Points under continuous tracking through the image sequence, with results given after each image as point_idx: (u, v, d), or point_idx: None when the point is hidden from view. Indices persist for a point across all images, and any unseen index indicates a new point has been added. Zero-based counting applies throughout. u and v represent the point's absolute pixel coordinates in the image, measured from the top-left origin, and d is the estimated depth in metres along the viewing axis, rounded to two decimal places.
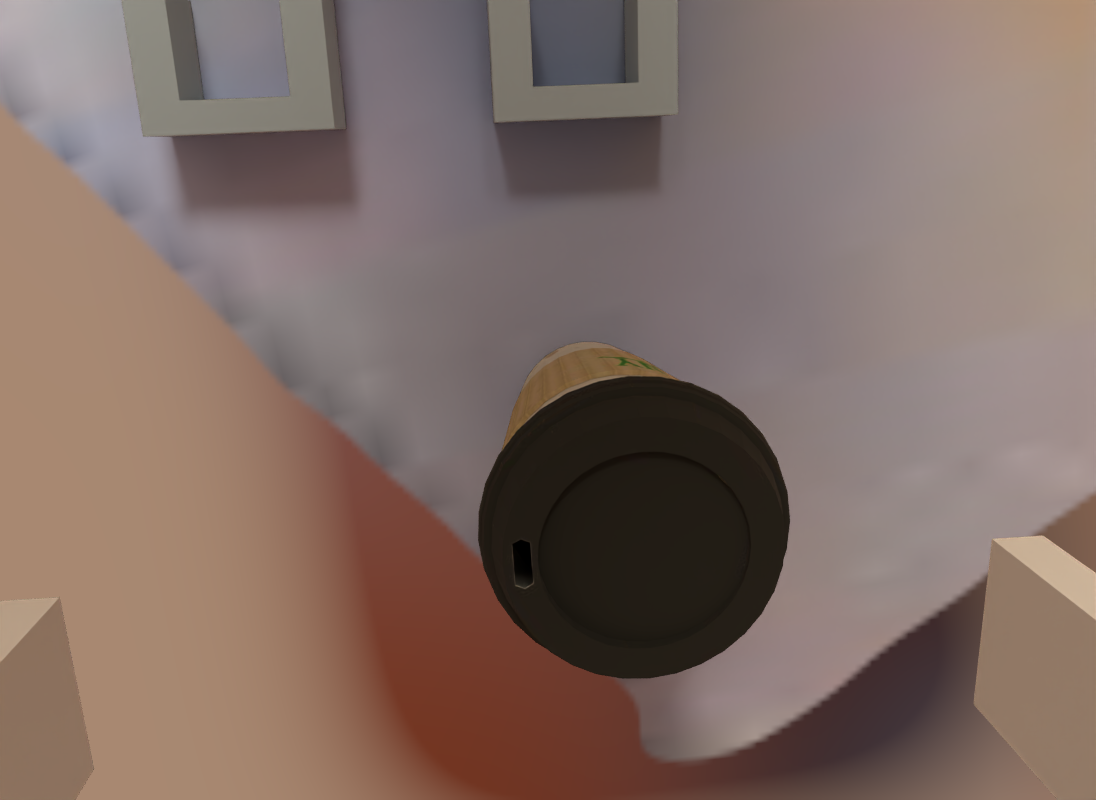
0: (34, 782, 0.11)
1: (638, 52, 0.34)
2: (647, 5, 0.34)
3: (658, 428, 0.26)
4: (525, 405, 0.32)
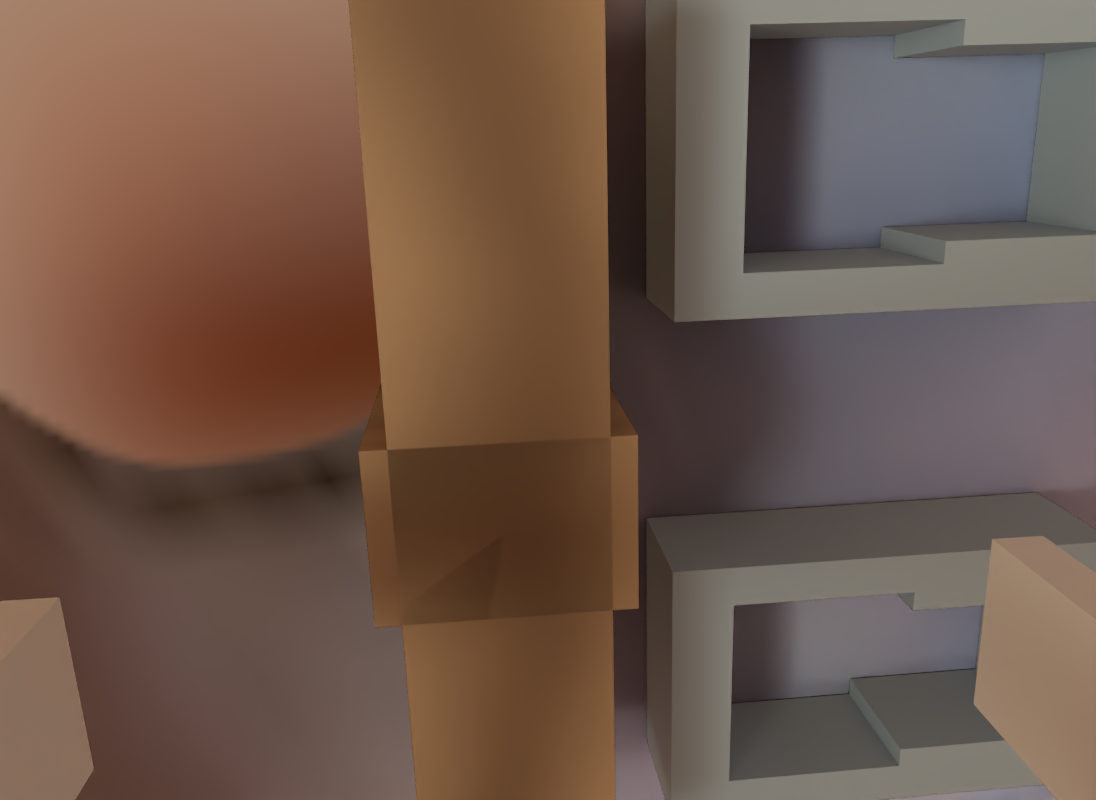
0: (34, 782, 0.11)
1: (1086, 41, 0.19)
2: (1017, 25, 0.19)
3: None
4: None
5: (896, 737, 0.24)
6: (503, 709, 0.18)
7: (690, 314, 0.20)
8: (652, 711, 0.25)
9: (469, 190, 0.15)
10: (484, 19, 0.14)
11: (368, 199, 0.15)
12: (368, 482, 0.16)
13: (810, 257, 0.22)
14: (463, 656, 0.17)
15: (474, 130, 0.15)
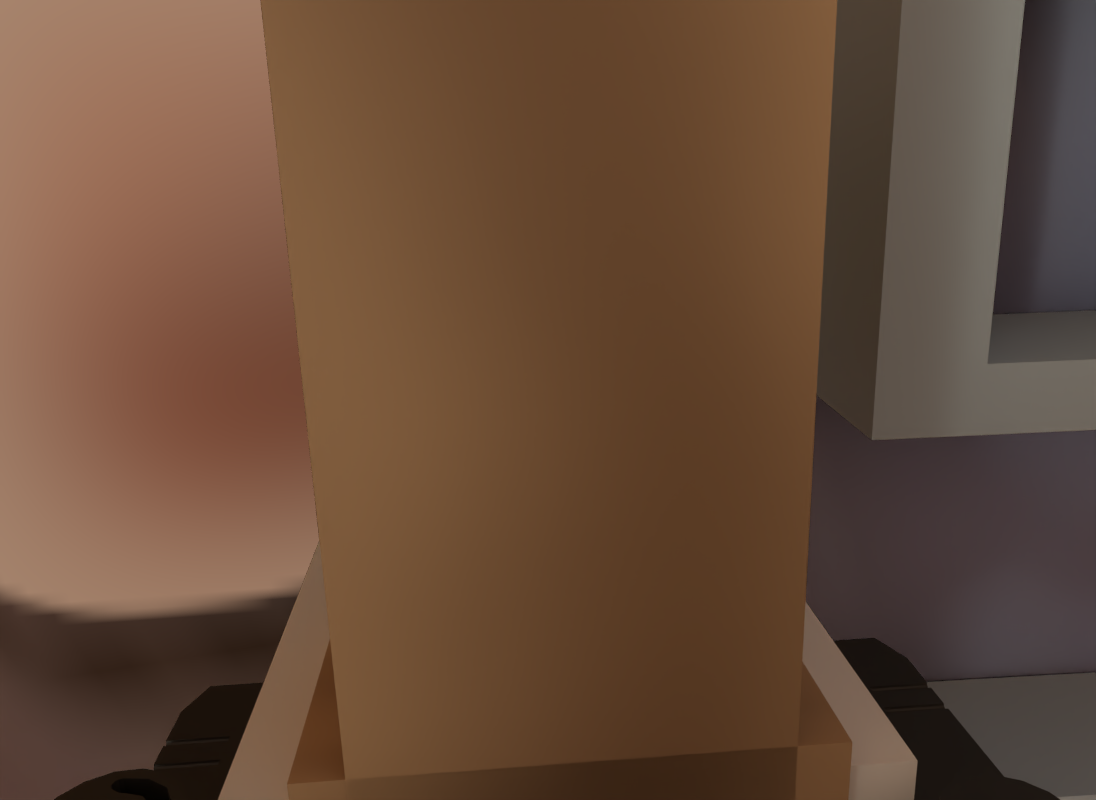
0: None
1: None
2: None
3: None
4: None
5: None
6: None
7: (898, 428, 0.12)
8: None
9: (522, 259, 0.07)
10: None
11: (297, 279, 0.07)
12: None
13: (1063, 328, 0.14)
14: None
15: (535, 126, 0.07)
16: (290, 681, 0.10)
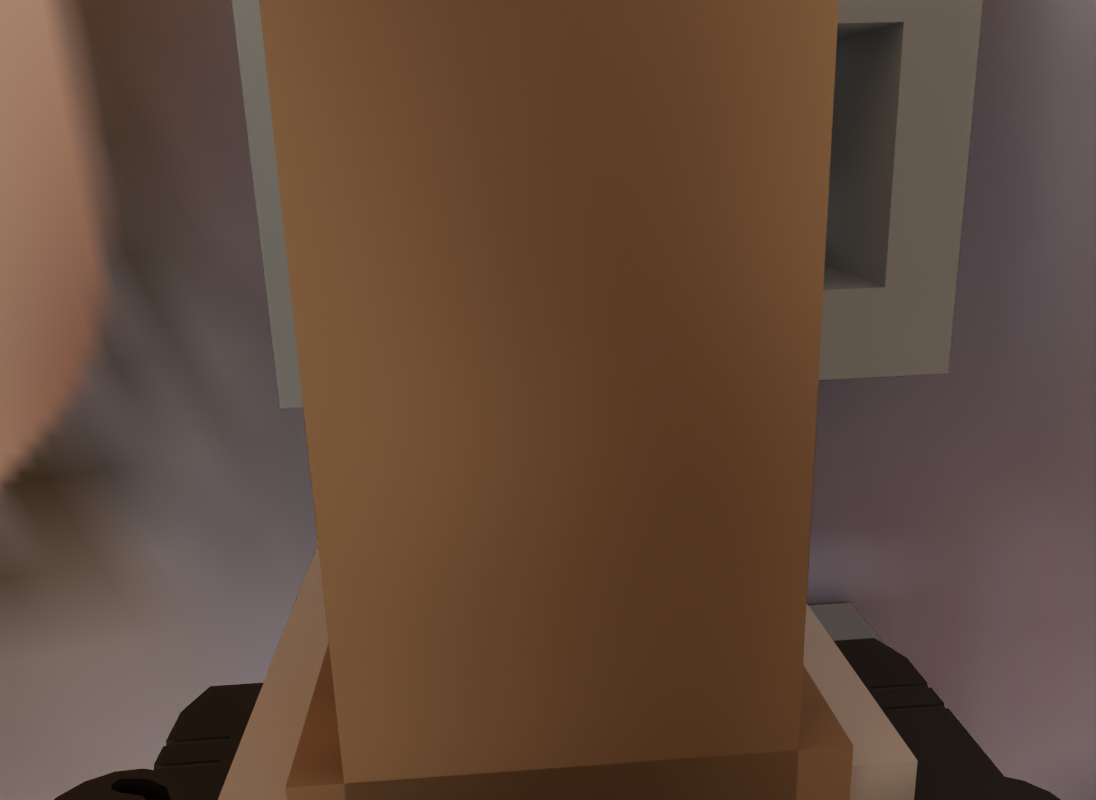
0: None
1: None
2: None
3: None
4: None
5: None
6: None
7: (301, 398, 0.15)
8: None
9: (522, 261, 0.07)
10: None
11: (296, 281, 0.07)
12: None
13: None
14: None
15: (535, 127, 0.07)
16: (290, 681, 0.10)
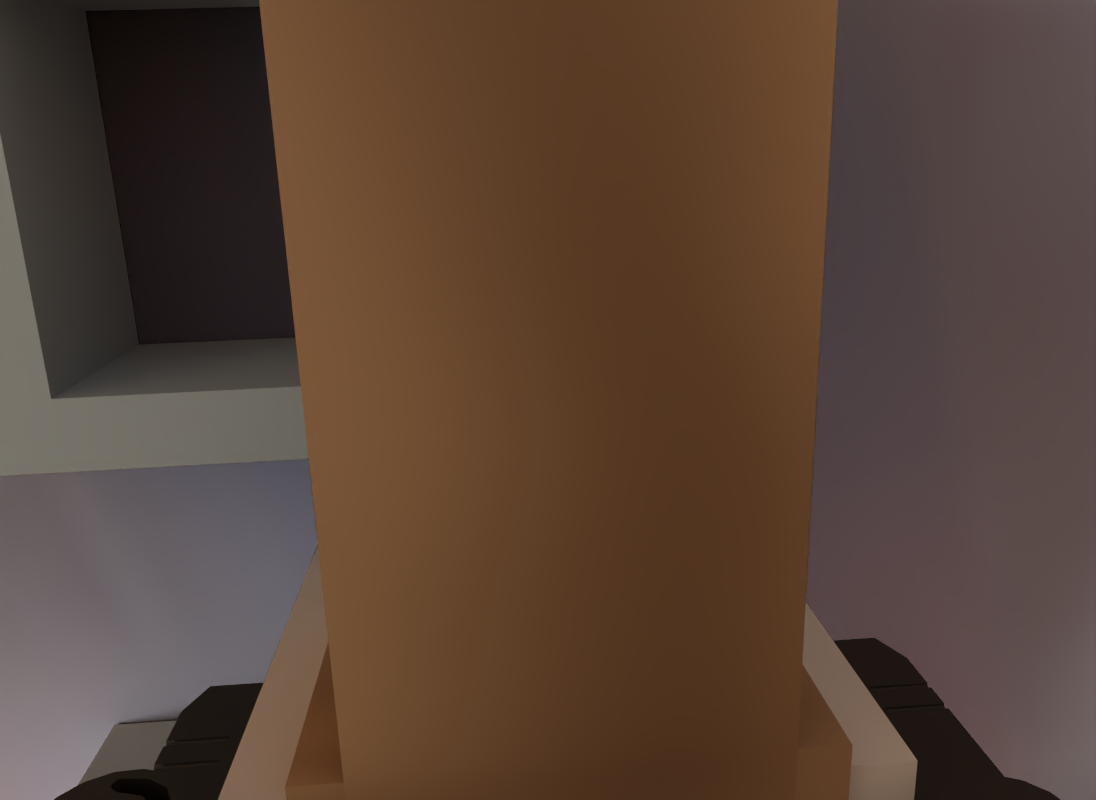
0: None
1: None
2: None
3: None
4: None
5: None
6: None
7: None
8: None
9: (521, 261, 0.07)
10: None
11: (296, 281, 0.07)
12: None
13: (261, 355, 0.14)
14: None
15: (535, 127, 0.07)
16: (290, 681, 0.10)
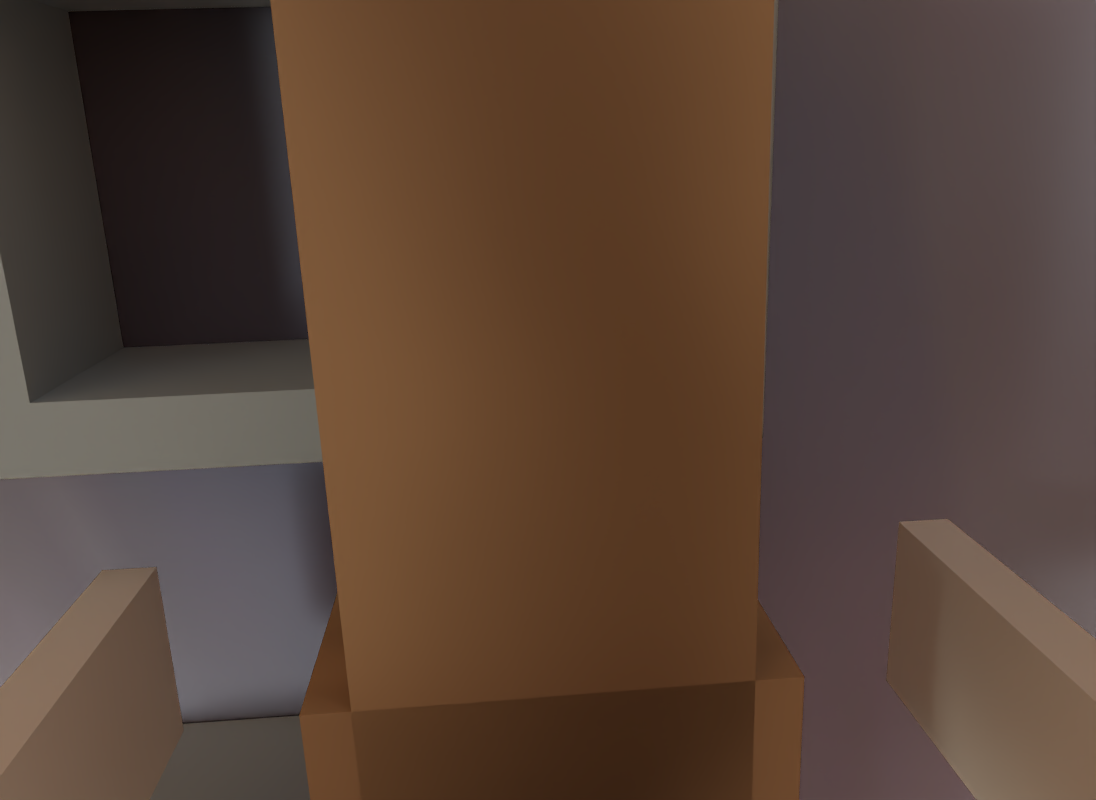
0: (140, 737, 0.12)
1: None
2: None
3: None
4: None
5: None
6: None
7: None
8: None
9: (502, 245, 0.08)
10: None
11: (306, 264, 0.08)
12: (318, 766, 0.09)
13: (245, 359, 0.14)
14: None
15: (512, 128, 0.08)
16: None
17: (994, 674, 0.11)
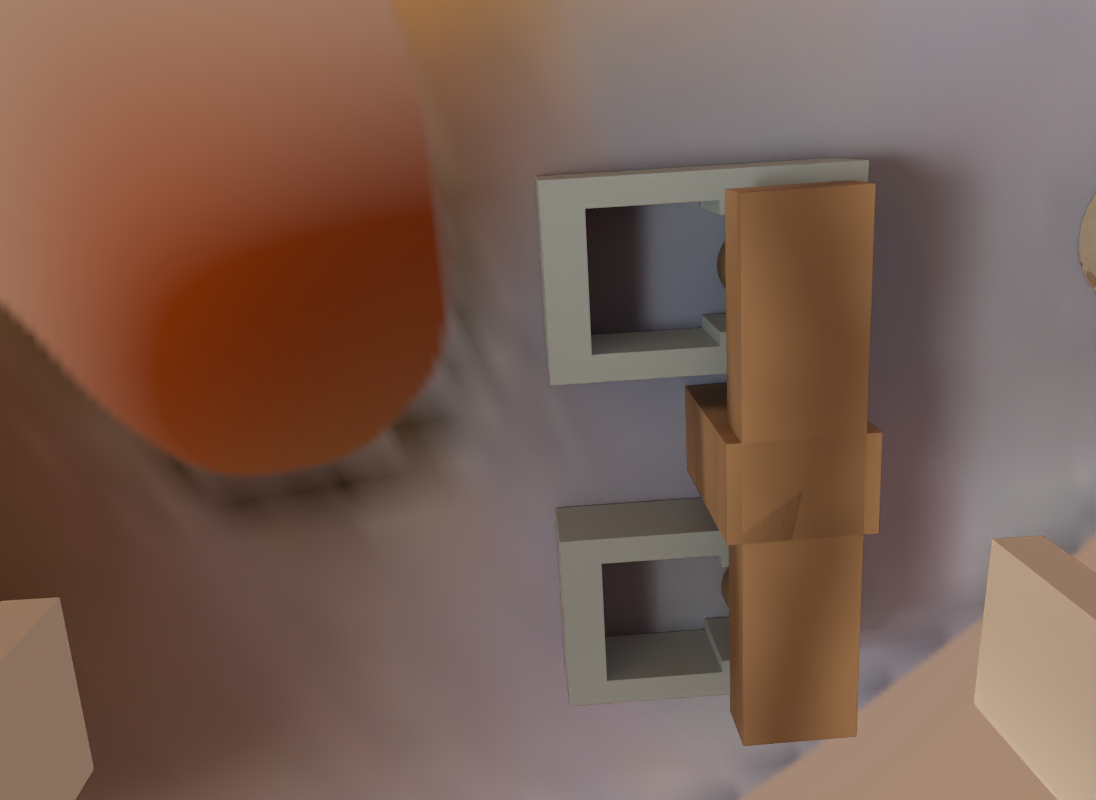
0: (34, 782, 0.11)
1: None
2: None
3: None
4: None
5: (722, 653, 0.36)
6: (796, 594, 0.31)
7: (560, 380, 0.32)
8: None
9: (796, 301, 0.28)
10: (810, 212, 0.27)
11: (742, 307, 0.28)
12: (730, 461, 0.29)
13: (647, 338, 0.34)
14: (776, 562, 0.30)
15: (801, 269, 0.27)
16: None
17: None
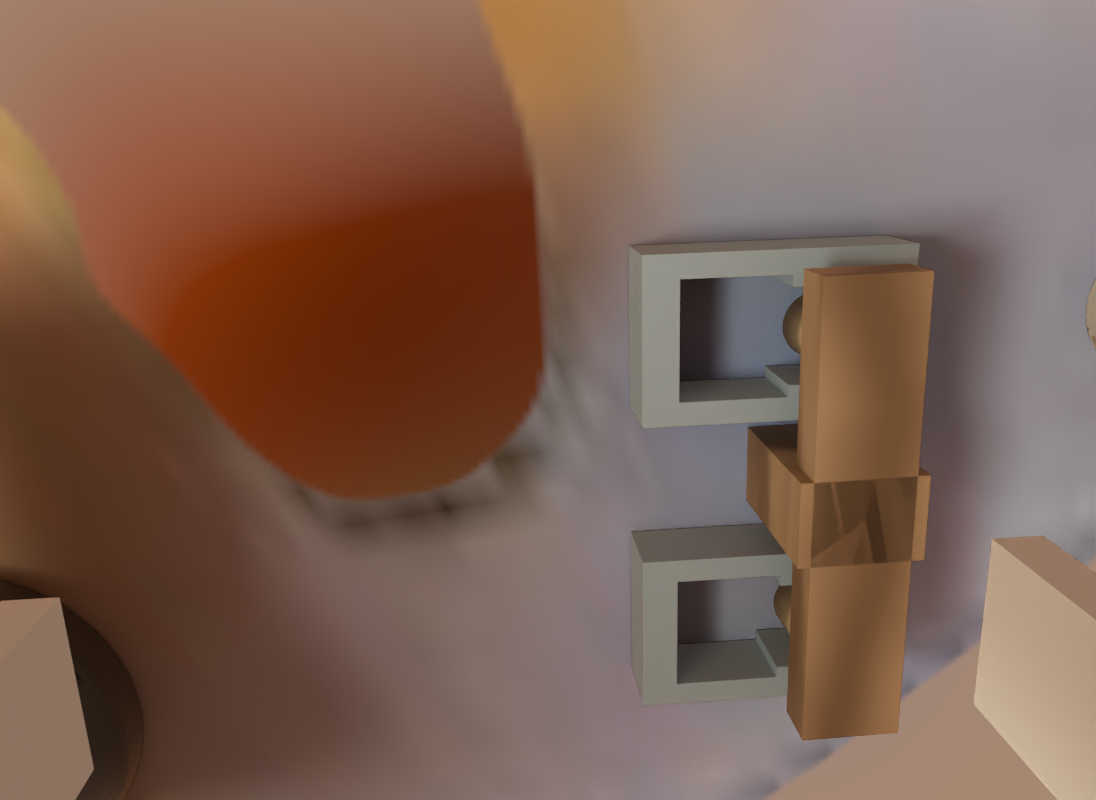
0: (34, 782, 0.11)
1: None
2: None
3: None
4: None
5: (776, 660, 0.41)
6: (853, 611, 0.36)
7: (651, 424, 0.37)
8: (634, 646, 0.43)
9: (865, 365, 0.33)
10: (880, 293, 0.32)
11: (820, 370, 0.33)
12: (803, 498, 0.34)
13: (721, 387, 0.39)
14: (837, 584, 0.35)
15: (870, 340, 0.33)
16: None
17: None
